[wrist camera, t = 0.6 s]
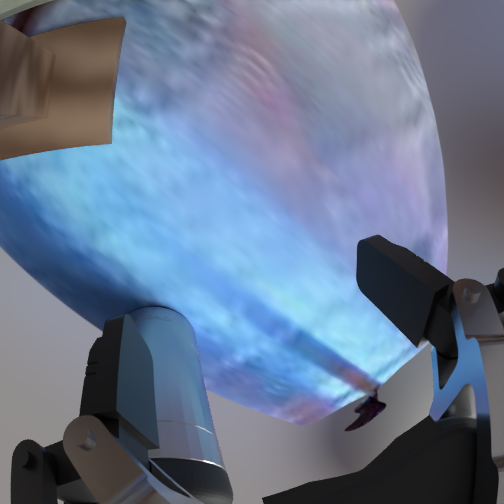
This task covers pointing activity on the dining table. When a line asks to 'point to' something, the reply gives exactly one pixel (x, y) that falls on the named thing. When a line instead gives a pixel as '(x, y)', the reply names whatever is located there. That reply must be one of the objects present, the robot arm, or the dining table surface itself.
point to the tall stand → (58, 86)
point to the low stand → (17, 6)
